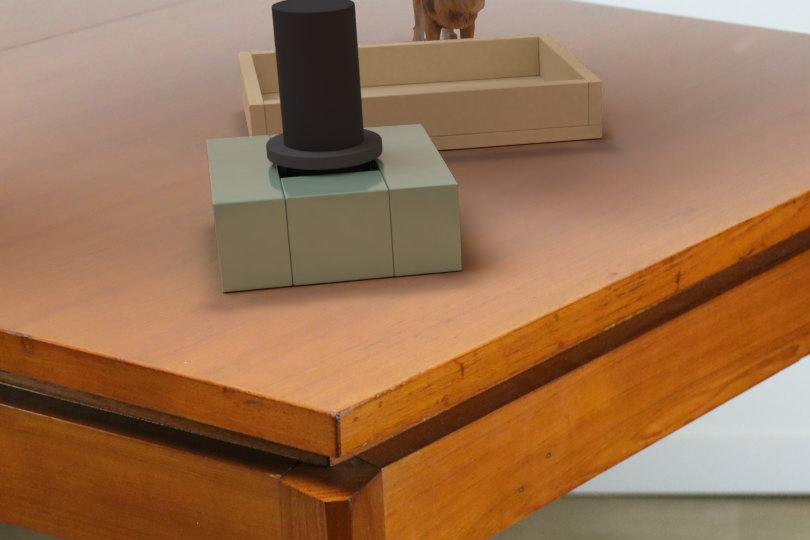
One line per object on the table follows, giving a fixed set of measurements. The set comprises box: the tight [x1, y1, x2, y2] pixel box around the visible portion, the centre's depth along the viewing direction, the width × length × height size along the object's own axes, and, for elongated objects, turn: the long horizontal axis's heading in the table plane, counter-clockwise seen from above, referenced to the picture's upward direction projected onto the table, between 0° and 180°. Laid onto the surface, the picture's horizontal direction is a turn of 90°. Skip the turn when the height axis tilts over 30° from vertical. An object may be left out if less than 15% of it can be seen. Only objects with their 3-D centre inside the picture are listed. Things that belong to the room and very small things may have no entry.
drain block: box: [205, 124, 463, 293], centre depth 70 cm, size 10×10×4 cm
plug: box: [266, 0, 383, 178], centre depth 68 cm, size 5×5×11 cm
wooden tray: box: [237, 33, 603, 151], centre depth 90 cm, size 20×14×3 cm
